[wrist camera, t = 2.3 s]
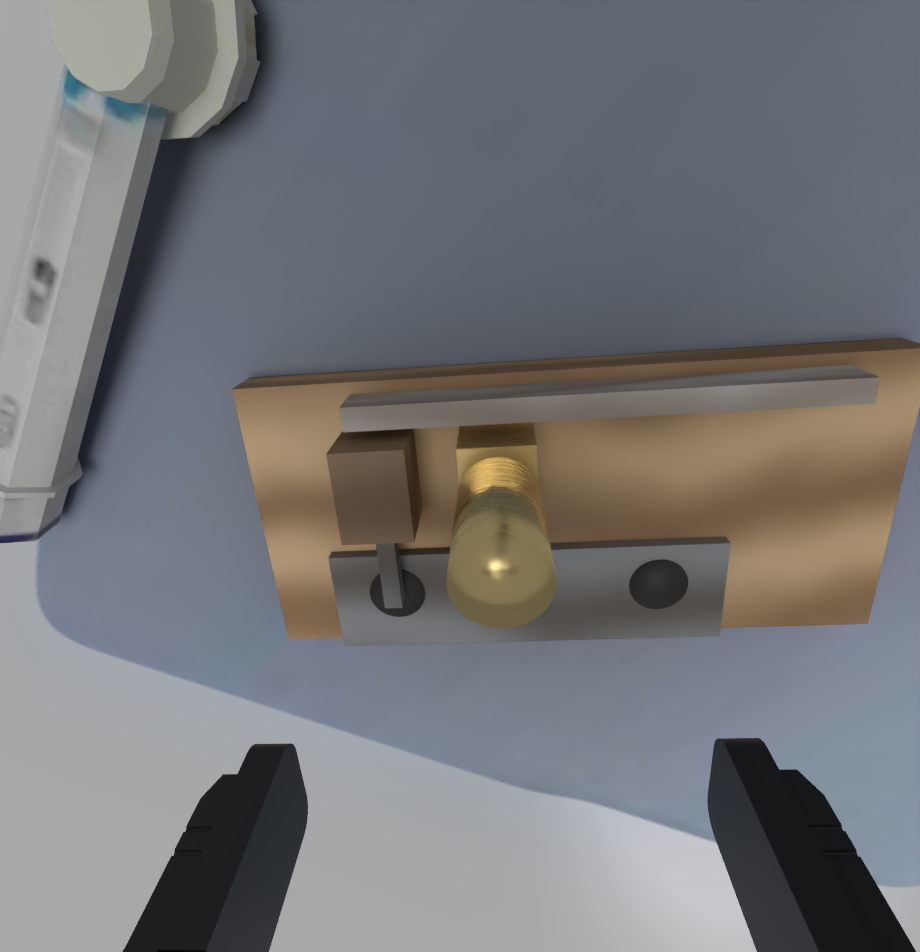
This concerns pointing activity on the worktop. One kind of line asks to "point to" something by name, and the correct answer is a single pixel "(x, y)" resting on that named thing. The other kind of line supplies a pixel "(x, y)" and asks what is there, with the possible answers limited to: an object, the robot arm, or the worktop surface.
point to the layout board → (608, 488)
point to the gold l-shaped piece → (499, 529)
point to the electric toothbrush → (98, 216)
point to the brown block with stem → (377, 497)
